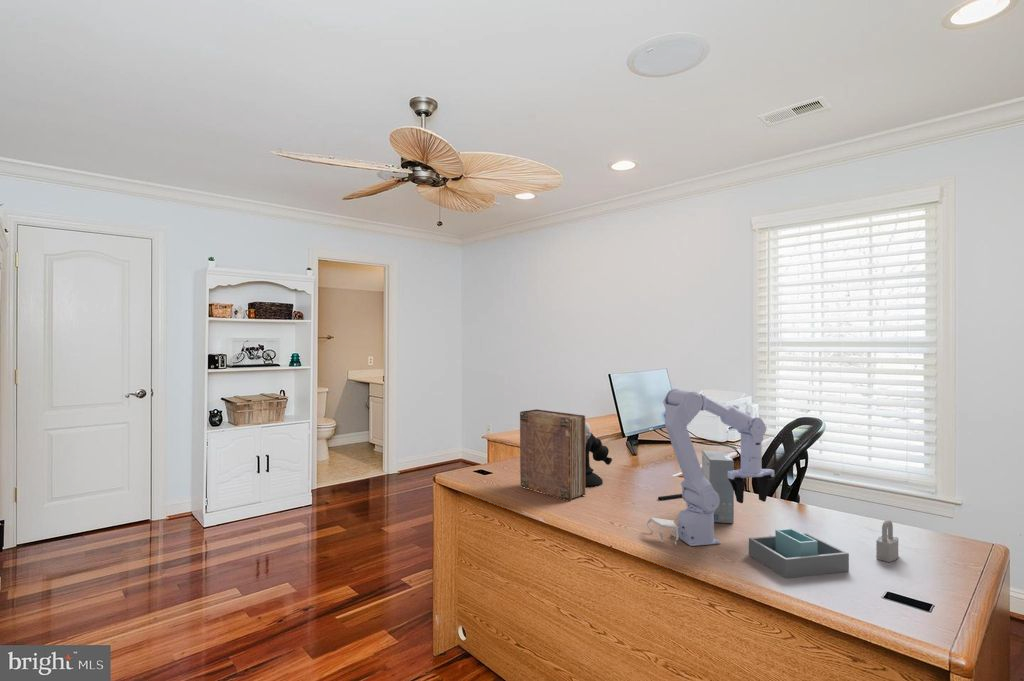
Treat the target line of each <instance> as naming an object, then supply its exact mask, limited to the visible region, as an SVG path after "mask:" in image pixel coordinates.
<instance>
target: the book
mask: <svg viewBox="0 0 1024 681" xmlns="http://www.w3.org/2000/svg"><path fill="white" fill-rule="evenodd" d="M585 422H586V415H585V414H584V415H583V414H576V413H569V412H560V411H551V410H545V409H544V410H543V409H530V410H523V411H520V412H519V441H520V443H519V444H520V445H519V451H520V452H519V455H520V456H519V459H520V460H519V462H520V463H519V464H520V465H519V466H520V472H519V473H520V478H519V479H520V487H521V486H522V487H525V488H529V489H532V490H536V491H539V492H542V493H545V494H544V495H546V494H548V495H547V496H549V495H551V496H550V497H553V496H555V497H554V498H556V497H558V498H557V499H559V498H561V499H560V500H563V499H565V500H564V501H566V500H568V501H567V502H571V501H572V499H575V498H579V497H582V496H581V495H585V496H586V487H585ZM522 487H521V488H522ZM525 488H524V489H525ZM529 489H528V490H529ZM532 490H531V491H532ZM539 492H538V493H539ZM542 493H541V494H542Z"/></svg>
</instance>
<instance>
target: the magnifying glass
mask: <svg viewBox="0 0 1024 681" xmlns="http://www.w3.org/2000/svg"><path fill="white" fill-rule="evenodd" d="M675 499H683V497H682V493H679V494H678V493H676V494H670V495H662V496H658V497H657V500H658V501H667V500H668V501H669V500H675Z"/></svg>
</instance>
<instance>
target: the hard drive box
mask: <svg viewBox="0 0 1024 681" xmlns="http://www.w3.org/2000/svg"><path fill="white" fill-rule="evenodd" d="M734 465H735V461H734V460H733V458H732V457H730V456H729V454H727V453H726V452H725V451H718V450H702V451H701V469H702V472H703V475H704V477H705V478H706V479H707V480H708V481H709V482H710V483H711V484H712V487H713V489H714V490H715V491H716V492H717V493H718V495H719V498H720V503H719V506H718V508H717V509H716V510H715V512H714V523H721V524H722V523H724V524H734V520H735V519H734V517H735V516H734V514H735V512H734V508H735V507H734V502H735V501H734V500H735V498H734V496H735V492H734V489H733V487H732V485H731V483H730V481H729V479H728V471H734V469H735V468H734V467H735V466H734Z"/></svg>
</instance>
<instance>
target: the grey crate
mask: <svg viewBox="0 0 1024 681" xmlns="http://www.w3.org/2000/svg"><path fill="white" fill-rule="evenodd" d="M802 534H804V535H806V536H808V537H810V538H812V539H814V540H816V541H818V555H812V556H801V557H791V558H786V557H784V556H782V555H780V554H779V553H777V552H775V535H768V536H755V537H748V555H749V556H750V557H752V558H754V559H755V560H756V561H758V562H760V563H761V564H763V565H764V566H766V567H767V568H769V569H771V570H772V571H774V572H775V573H777V574H779V575H780V576H782V577H783V578H784V579H792V578H799V577H800V578H801V577H809V576H817V575H827V574H836V573H837V574H839V573H845V572H846V573H847V572H849V571H850V568H849V567H850V561H849V560H850V553H849V552H847V551H845V550H843V549H841V548H838V547H837V546H835V545H833V544H831V543H828V542H827V541H825V540H822V539H820V538H818V537H816V536H814V535H812V534H809V533H808V532H803V533H802Z"/></svg>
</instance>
